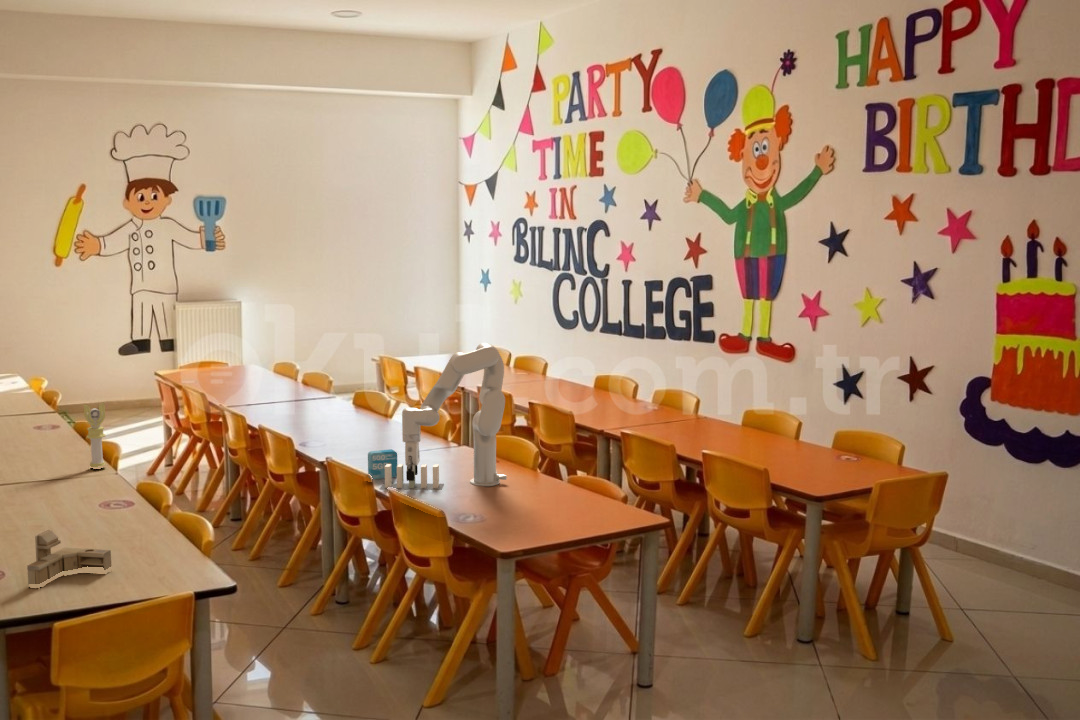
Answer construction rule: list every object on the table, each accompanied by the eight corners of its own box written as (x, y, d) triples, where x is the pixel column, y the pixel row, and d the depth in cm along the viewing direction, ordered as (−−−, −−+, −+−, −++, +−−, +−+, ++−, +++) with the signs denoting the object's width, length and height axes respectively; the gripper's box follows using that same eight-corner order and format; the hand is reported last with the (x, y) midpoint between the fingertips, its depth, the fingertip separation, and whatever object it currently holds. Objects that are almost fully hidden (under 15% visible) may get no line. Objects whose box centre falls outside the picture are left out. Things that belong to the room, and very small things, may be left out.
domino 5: (439, 485, 426) (438, 464, 425) (437, 488, 421) (437, 467, 420) (434, 485, 426) (434, 464, 425) (432, 488, 421) (432, 467, 420)
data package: (370, 480, 436) (370, 453, 434) (368, 478, 440) (367, 451, 438) (397, 477, 441) (397, 450, 439) (394, 475, 445) (394, 448, 443)
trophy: (88, 471, 449) (85, 405, 445) (86, 468, 456) (83, 402, 452) (108, 469, 453) (105, 403, 449) (106, 466, 460) (103, 401, 456)
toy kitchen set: (76, 592, 303) (74, 543, 301) (26, 589, 305) (23, 540, 303) (112, 571, 321) (109, 525, 319) (64, 569, 323) (61, 523, 321)
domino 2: (403, 484, 426) (403, 464, 425) (401, 487, 422) (401, 466, 420) (398, 484, 426) (398, 464, 425) (397, 487, 422) (396, 466, 420)
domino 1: (391, 484, 427) (391, 463, 425) (389, 487, 422) (389, 466, 420) (387, 484, 427) (386, 463, 425) (385, 487, 422) (384, 466, 420)
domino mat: (444, 484, 429) (444, 483, 429) (441, 490, 419) (441, 489, 419) (383, 484, 429) (383, 483, 429) (379, 490, 419) (379, 489, 419)
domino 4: (427, 485, 426) (426, 464, 425) (425, 488, 421) (425, 467, 420) (422, 485, 426) (422, 464, 425) (420, 488, 421) (420, 466, 420)
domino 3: (415, 484, 426) (415, 464, 425) (413, 488, 421) (413, 466, 420) (410, 484, 426) (410, 464, 425) (409, 488, 421) (408, 466, 420)
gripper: (417, 442, 413) (418, 482, 415) (423, 433, 430) (423, 472, 432) (399, 441, 413) (400, 482, 415) (405, 433, 430) (406, 472, 432)
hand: (412, 477), depth 423 cm, fingers open, 9 cm apart
